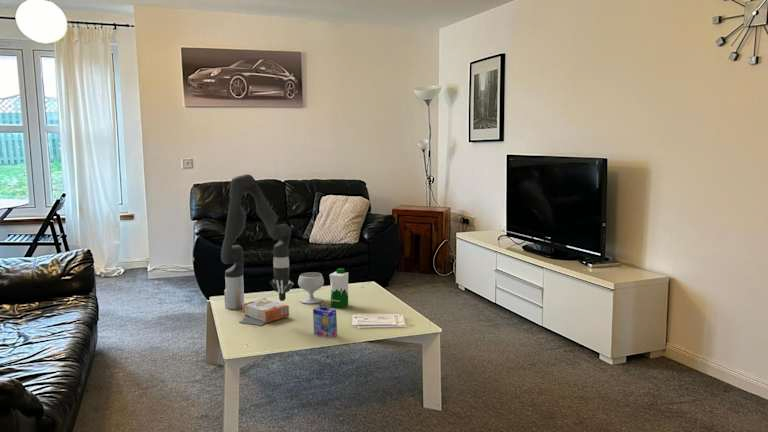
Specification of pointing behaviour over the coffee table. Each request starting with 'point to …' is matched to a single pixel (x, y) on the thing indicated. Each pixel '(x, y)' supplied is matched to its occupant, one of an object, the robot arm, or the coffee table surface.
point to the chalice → (311, 285)
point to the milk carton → (339, 289)
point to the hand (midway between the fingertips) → (282, 300)
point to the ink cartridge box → (325, 321)
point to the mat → (253, 321)
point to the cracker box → (265, 310)
